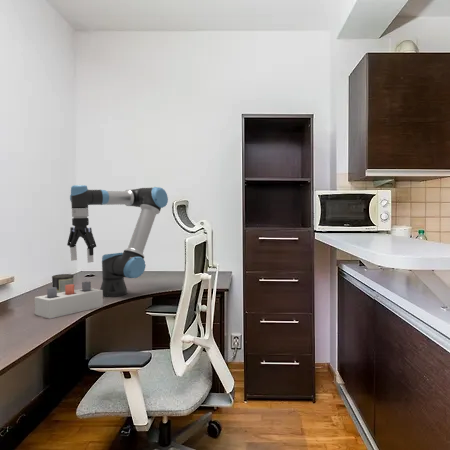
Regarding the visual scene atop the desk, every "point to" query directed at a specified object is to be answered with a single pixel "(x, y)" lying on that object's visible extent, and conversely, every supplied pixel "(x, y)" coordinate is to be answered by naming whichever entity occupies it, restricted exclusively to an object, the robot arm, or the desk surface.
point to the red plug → (69, 289)
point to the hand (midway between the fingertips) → (82, 261)
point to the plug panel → (68, 303)
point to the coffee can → (62, 281)
